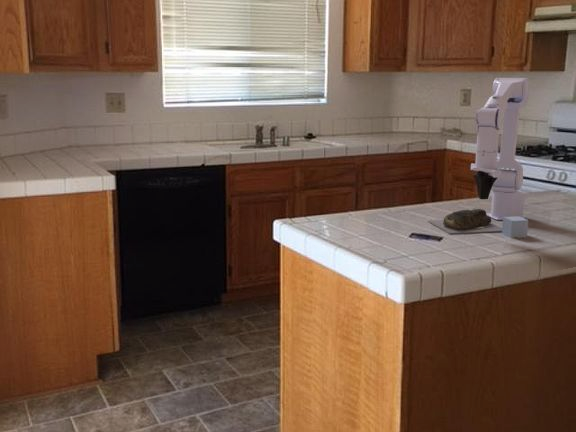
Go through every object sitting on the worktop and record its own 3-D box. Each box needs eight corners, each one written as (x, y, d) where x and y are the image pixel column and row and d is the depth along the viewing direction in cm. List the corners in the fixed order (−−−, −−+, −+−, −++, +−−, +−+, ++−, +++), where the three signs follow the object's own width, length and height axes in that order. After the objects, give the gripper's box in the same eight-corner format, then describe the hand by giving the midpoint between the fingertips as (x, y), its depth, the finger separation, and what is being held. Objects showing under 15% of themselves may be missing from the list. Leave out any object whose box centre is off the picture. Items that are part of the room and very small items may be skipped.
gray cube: (517, 233, 187) (519, 216, 186) (526, 237, 182) (528, 220, 181) (501, 233, 186) (503, 217, 185) (510, 238, 181) (511, 220, 180)
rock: (439, 226, 192) (440, 212, 191) (473, 219, 201) (474, 206, 200) (460, 231, 186) (461, 217, 185) (494, 224, 195) (495, 210, 194)
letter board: (482, 219, 203) (482, 218, 203) (507, 231, 188) (507, 230, 187) (428, 221, 200) (428, 220, 200) (449, 234, 185) (449, 232, 184)
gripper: (462, 148, 186) (459, 194, 189) (485, 154, 172) (482, 204, 175) (484, 148, 187) (481, 193, 190) (509, 154, 173) (506, 203, 176)
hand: (483, 198), depth 182 cm, fingers closed
